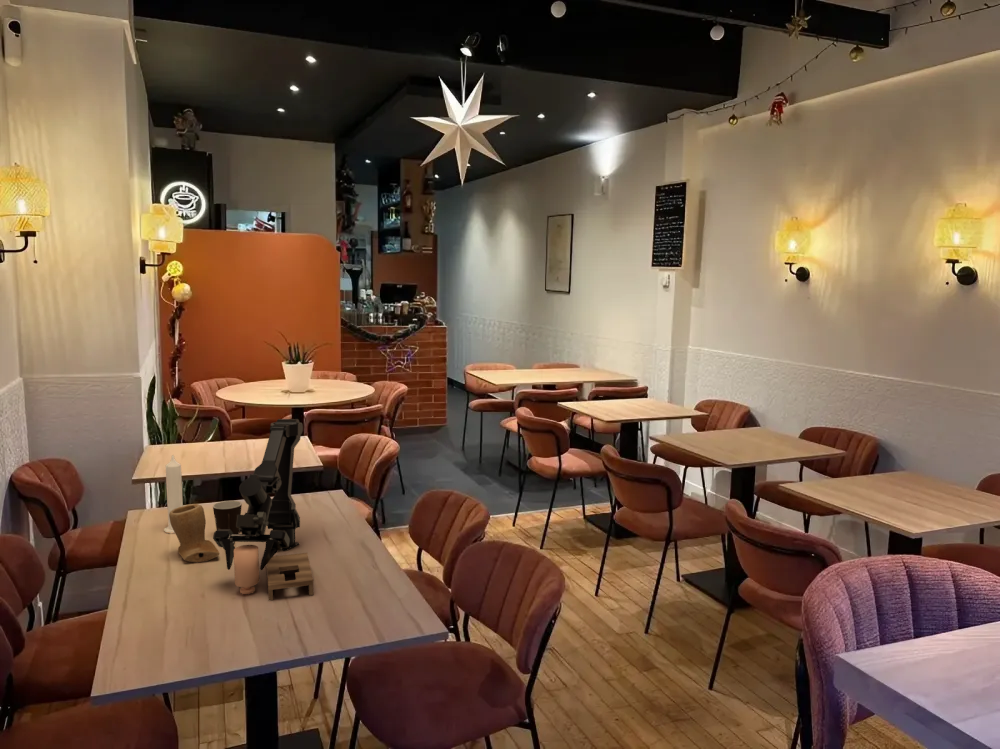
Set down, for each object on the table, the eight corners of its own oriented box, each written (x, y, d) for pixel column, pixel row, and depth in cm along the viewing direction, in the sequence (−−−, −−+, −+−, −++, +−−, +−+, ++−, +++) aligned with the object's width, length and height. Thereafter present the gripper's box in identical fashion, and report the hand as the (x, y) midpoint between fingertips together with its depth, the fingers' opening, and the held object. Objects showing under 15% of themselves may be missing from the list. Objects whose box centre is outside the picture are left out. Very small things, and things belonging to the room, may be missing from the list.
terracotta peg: (247, 585, 190) (246, 543, 188) (264, 589, 187) (263, 547, 186) (230, 593, 184) (228, 550, 183) (247, 598, 182) (245, 554, 180)
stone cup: (168, 551, 213) (166, 502, 211) (211, 544, 219) (209, 497, 217) (175, 568, 200) (173, 517, 198) (220, 560, 206) (218, 510, 204)
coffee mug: (220, 530, 231) (219, 500, 230) (247, 530, 231) (246, 501, 230) (205, 543, 220) (203, 511, 219) (232, 543, 220) (231, 512, 218)
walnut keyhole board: (266, 570, 199) (266, 557, 199) (307, 566, 203) (307, 552, 202) (268, 600, 180) (268, 585, 180) (313, 595, 184) (313, 580, 184)
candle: (180, 525, 236) (177, 451, 233) (192, 529, 232) (189, 454, 229) (159, 530, 230) (156, 455, 227) (171, 535, 226) (168, 458, 223)
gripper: (214, 499, 187) (198, 556, 177) (285, 500, 187) (273, 556, 177) (226, 519, 195) (212, 573, 186) (294, 519, 195) (283, 574, 186)
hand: (244, 569), depth 183 cm, fingers open, 8 cm apart
